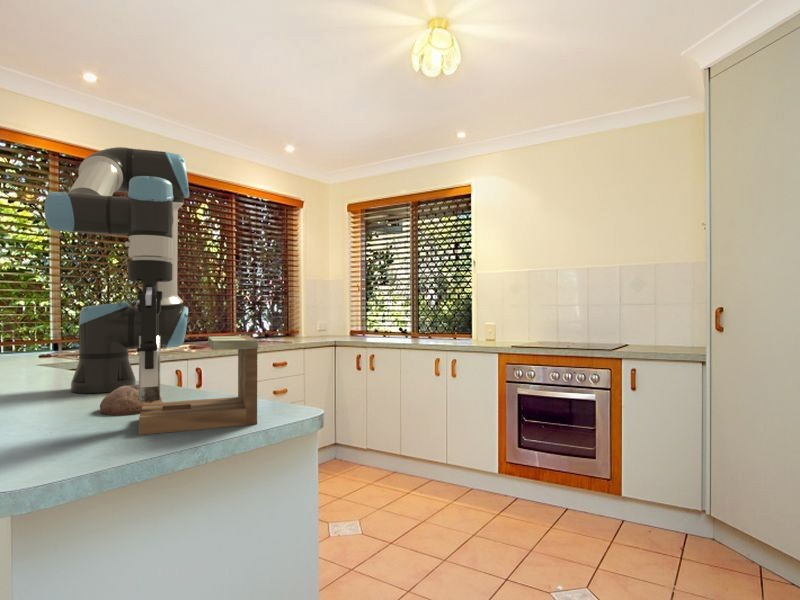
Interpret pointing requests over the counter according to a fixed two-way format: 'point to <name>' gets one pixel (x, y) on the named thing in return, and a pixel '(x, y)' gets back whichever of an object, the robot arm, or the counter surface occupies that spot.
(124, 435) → the counter surface
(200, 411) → the socket station
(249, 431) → the counter surface
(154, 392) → the peg
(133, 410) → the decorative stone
